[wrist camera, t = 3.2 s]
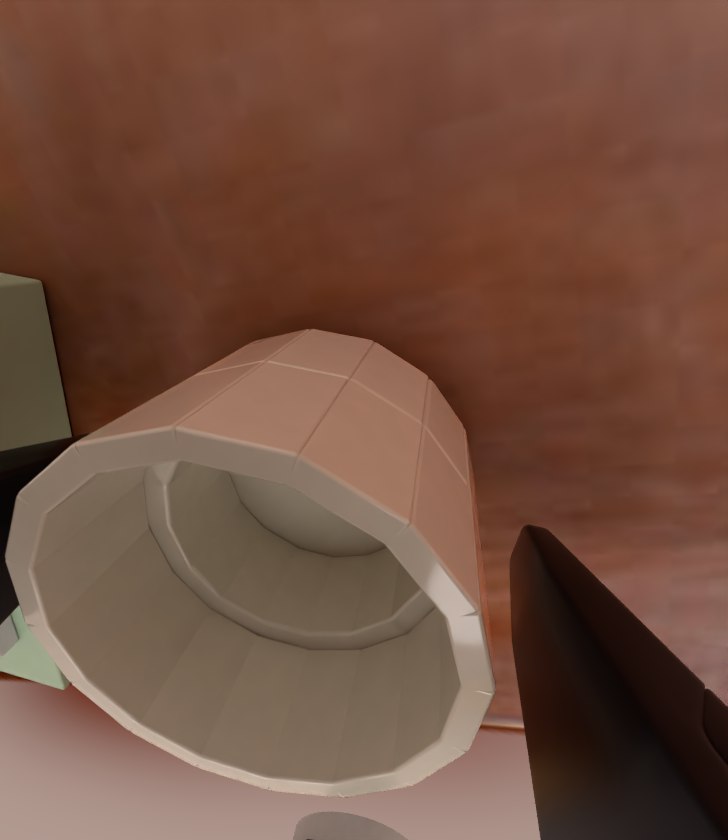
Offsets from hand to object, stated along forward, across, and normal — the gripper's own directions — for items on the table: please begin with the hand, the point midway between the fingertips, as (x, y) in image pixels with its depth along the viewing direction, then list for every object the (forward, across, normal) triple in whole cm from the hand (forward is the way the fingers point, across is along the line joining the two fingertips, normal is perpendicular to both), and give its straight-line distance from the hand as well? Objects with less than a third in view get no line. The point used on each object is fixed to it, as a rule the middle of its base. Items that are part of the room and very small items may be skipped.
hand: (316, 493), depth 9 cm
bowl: (+1, 0, 0) cm, 1 cm away
